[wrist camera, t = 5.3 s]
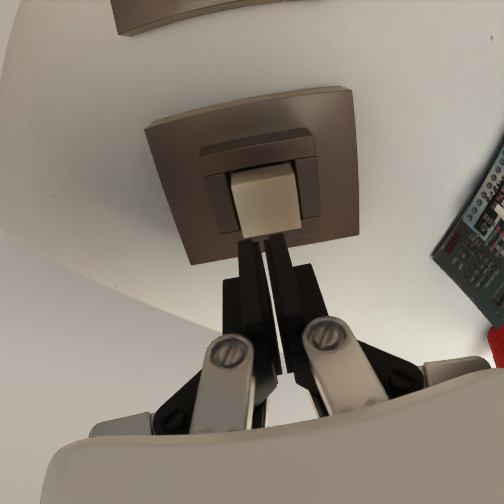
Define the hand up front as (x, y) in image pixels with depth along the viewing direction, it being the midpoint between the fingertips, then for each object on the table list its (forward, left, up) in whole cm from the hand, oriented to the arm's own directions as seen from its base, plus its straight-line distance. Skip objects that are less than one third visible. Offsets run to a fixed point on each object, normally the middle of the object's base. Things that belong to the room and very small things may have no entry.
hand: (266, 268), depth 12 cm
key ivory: (0, 0, -7) cm, 7 cm away
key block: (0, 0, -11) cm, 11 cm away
